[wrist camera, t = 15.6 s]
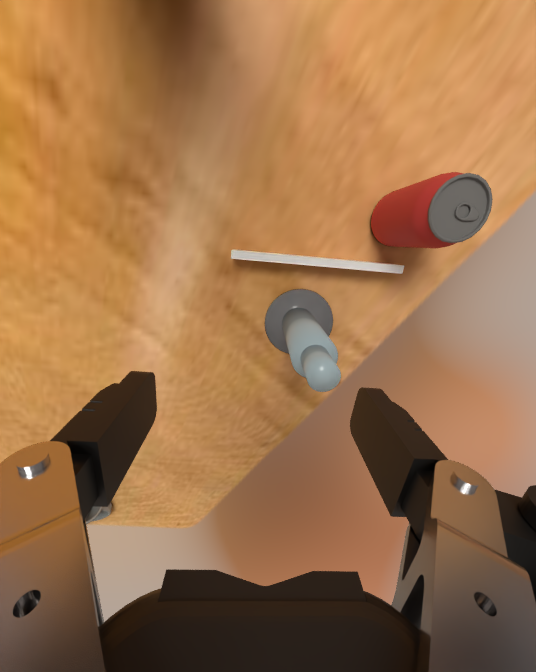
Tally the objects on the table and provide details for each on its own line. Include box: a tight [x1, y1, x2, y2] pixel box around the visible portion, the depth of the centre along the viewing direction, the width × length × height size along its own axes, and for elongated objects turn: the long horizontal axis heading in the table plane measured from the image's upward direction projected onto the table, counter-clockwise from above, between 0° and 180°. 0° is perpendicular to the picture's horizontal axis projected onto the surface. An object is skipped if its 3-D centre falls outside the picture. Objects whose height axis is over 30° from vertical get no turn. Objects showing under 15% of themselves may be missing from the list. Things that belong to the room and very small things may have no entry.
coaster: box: [265, 289, 333, 354], centre depth 38 cm, size 10×10×1 cm
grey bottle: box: [282, 308, 341, 392], centre depth 30 cm, size 5×5×16 cm
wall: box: [231, 249, 404, 274], centre depth 34 cm, size 22×1×3 cm, turn 85°
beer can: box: [371, 172, 492, 248], centre depth 28 cm, size 7×7×12 cm
